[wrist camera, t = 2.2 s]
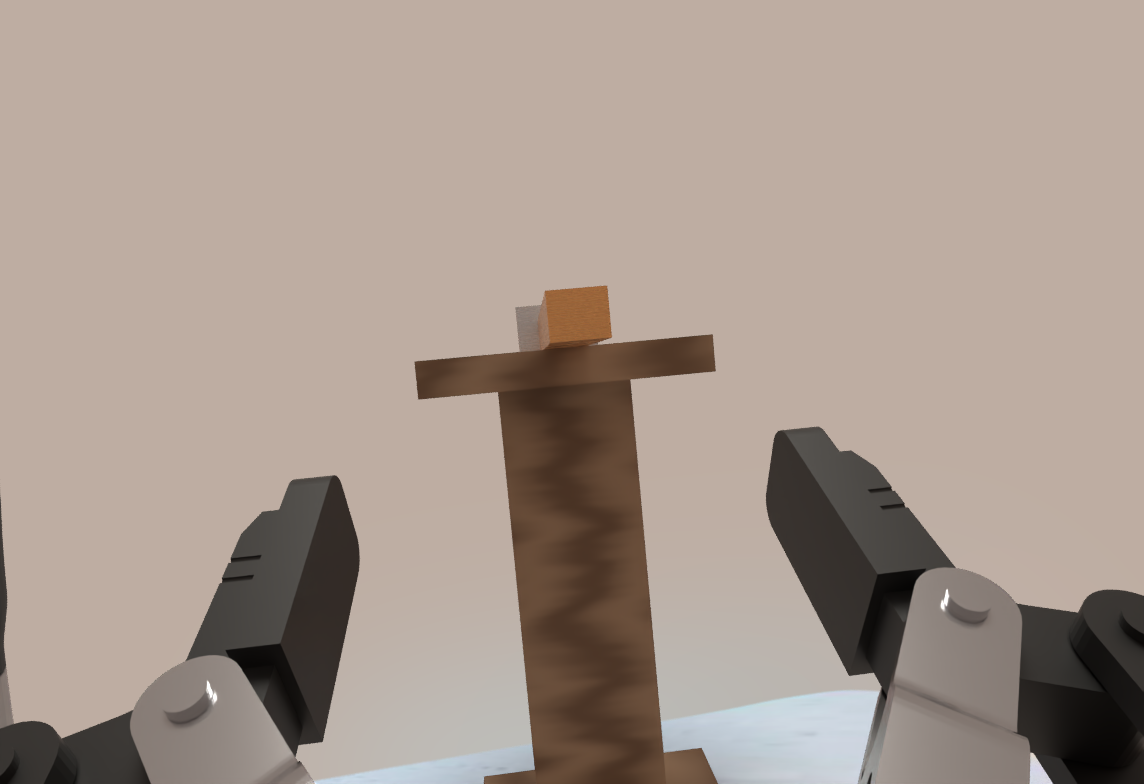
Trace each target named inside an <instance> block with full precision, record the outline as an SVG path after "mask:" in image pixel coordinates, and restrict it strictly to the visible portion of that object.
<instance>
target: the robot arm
mask: <svg viewBox="0 0 1144 784" xmlns="http://www.w3.org/2000/svg"><path fill="white" fill-rule="evenodd" d="M766 505H767V512H768V516H769V520H770V523H771V526H772V528H773V530H774V532H775V534H776V536H777V538H778V540H779V541H780V543H781V545H782V547H783V549H784V551H785V553H786V555H787V557H788V559H789V561H790V563H791V565H792V567H793V568H794V570H795V572H796V574H797V576H798V578H799V580H800V582H801V584H802V586H803V587H804V590H805V592H806V593H807V595H808V597H809V599H810V601H811V603H812V605H813V607H814V609H815V611H816V612H817V615H818V617H819V619H820V620H821V623H822V624H823V626H824V628H825V630H826V632H827V634H828V636H829V638H830V640H831V642H832V644H833V646H834V648H835V649H836V651H837V653H838V655H839V657H840V659H841V661H842V663H843V665H844V667H845V669H846V671H847V673H848V675H849V676H852V675H859V674H867V673H874V674H875V675H876V677H877V679H878V681H879V683H880V685H881V686H882V687H881V690H880V693H879V696H878V700H877V704H876V708H875V712H874V717H873V721H872V725H871V729H870V733H869V738H868V742H867V746H866V750H865V755H864V759H863V763H862V767H861V772H860V776H859V780H858V784H1029V782H1030V752H1031V753H1034V754H1035V756H1036V758H1037V759H1038V761H1039V762H1040V764H1041V765H1042V767H1043V769H1044V770H1045V772H1046V773H1047V775H1048V776H1049V778H1050V779H1051V781H1052V783H1053V784H1144V596H1142V595H1139V594H1136V593H1132V592H1128V591H1122V590H1102V591H1097V592H1094V593H1092V594H1091V595H1089V596H1088V597H1087V598H1086V599H1085V600H1084V602H1083V604H1082V606H1081V608H1080V610H1079V612H1078V613H1076V612H1069V611H1062V610H1056V609H1049V608H1042V607H1041V608H1040V607H1035V606H1028V605H1022V604H1017V603H1015V601H1014V600H1013V599H1012V598H1011V596H1010V595H1009V594H1008V593H1007V592H1006V591H1005V590H1003V589H1002V588H1001V587H1000V586H998V585H997V584H995V583H994V582H992V581H991V580H989V579H987V578H985V577H983V576H981V575H979V574H976V573H973V572H970V571H967V570H963V569H957V568H955V566H954V565H953V564H952V563H951V561H950V560H949V559H948V558H947V556H946V555H945V554H944V552H943V551H942V550H941V549H940V547H939V546H938V545H937V544H936V542H935V541H934V540H933V539H932V537H931V536H930V535H929V534H928V532H927V531H926V530H925V529H924V527H923V526H922V525H921V523H920V522H919V521H918V520H917V518H916V517H915V516H914V515H913V513H912V512H911V511H910V509H909V508H905V505H904V502H903V501H902V499H901V498H900V497H899V496H898V494H897V493H896V492H895V491H892V489H891V486H890V484H889V483H888V482H887V480H886V479H885V478H884V477H883V475H882V474H881V473H880V472H879V470H878V469H877V468H876V467H875V466H874V465H872V464H870V463H869V462H868V461H866V460H865V459H863V458H862V457H860V456H858V455H857V454H855V453H854V452H852V451H842V452H839V450H838V449H837V448H836V446H835V445H834V444H833V442H832V441H831V439H830V438H829V437H828V435H827V434H826V433H825V431H824V430H823V429H822V428H820V427H810V428H801V429H791V430H781V431H778V432H777V433H776V435H775V438H774V443H773V449H772V456H771V463H770V471H769V478H768V485H767V493H766ZM359 561H360V560H359V544H358V539H357V535H356V532H355V528H354V525H353V521H352V518H351V515H350V512H349V508H348V505H347V501H346V498H345V495H344V491H343V488H342V485H341V482H340V480H339V478H338V477H337V476H335V475H334V476H324V477H316V478H305V479H296V480H292V481H291V482H290V484H289V486H288V488H287V491H286V493H285V496H284V499H283V501H282V504H281V506H280V509H279V510H275V511H266V512H262V513H261V514H260V515H259V516H258V517H257V518H256V519H255V520H254V521H253V522H252V523H251V524H250V526H249V527H248V528H247V529H246V530H245V531H244V532H243V533H242V534H241V536H240V538H239V540H238V543H237V545H236V547H235V550H234V552H233V554H232V557H231V563H228V566H227V568H226V570H225V572H224V575H223V577H222V583H220V584H219V586H218V589H217V591H216V593H215V595H214V598H213V600H212V602H211V605H210V607H209V609H208V612H207V614H206V616H205V618H204V621H203V623H202V625H201V628H200V630H199V632H198V634H197V637H196V639H195V641H194V644H193V646H192V648H191V651H190V653H189V655H188V658H187V659H186V661H185V662H183V663H181V664H179V665H177V666H175V667H173V668H171V669H170V670H168V671H167V672H165V673H164V674H162V675H161V676H160V677H159V678H158V679H157V680H155V681H154V682H153V683H152V684H151V685H150V686H149V687H148V688H147V689H146V690H145V692H144V693H143V694H142V696H141V697H140V699H139V700H138V702H137V703H136V705H135V707H134V710H132V711H130V712H128V713H126V714H123V715H121V716H119V717H116V718H114V719H111V720H109V721H106V722H103V723H101V724H98V725H96V726H93V727H90V728H88V729H85V730H83V731H80V732H78V733H75V734H73V735H70V736H67V737H65V738H62V739H61V737H60V736H59V735H58V734H57V732H56V731H55V730H54V729H53V727H51V726H50V725H48V724H46V723H43V722H37V721H28V722H20V723H16V724H14V722H13V716H12V708H11V700H10V693H9V685H8V677H7V670H6V661H5V653H4V631H5V622H6V610H7V589H6V577H5V567H4V554H3V539H2V520H1V499H0V784H315V783H314V781H313V780H312V778H311V777H310V775H309V773H308V772H307V770H306V769H305V767H304V766H303V765H302V763H301V762H300V761H299V762H298V761H297V759H296V758H295V757H296V753H297V749H298V745H302V744H311V743H318V742H323V738H324V733H325V728H326V724H327V718H328V714H329V709H330V704H331V700H332V695H333V690H334V685H335V681H336V676H337V672H338V667H339V662H340V658H341V653H342V648H343V643H344V639H345V634H346V629H347V624H348V620H349V615H350V610H351V606H352V601H353V596H354V592H355V587H356V582H357V577H358V572H359Z"/></svg>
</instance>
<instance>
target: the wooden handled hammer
mask: <svg viewBox="0 0 1144 784" xmlns="http://www.w3.org/2000/svg"><path fill="white" fill-rule="evenodd" d="M516 317H517V328H518V338H519V348H520V352H526V351H537V350H548V349H559V348H570V347H581V346H592V345H598V342H600V341H603V340H606V339H609V338H611V337H612V335H611V323H610V312H609V301H608V290H607V286H597V287H585V288H573V289H562V290H551V291H545V294H544V297H543V301H542V305H539V306H526V307H516Z"/></svg>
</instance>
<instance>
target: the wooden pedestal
mask: <svg viewBox="0 0 1144 784" xmlns="http://www.w3.org/2000/svg"><path fill="white" fill-rule="evenodd" d="M415 370H416V380H417V390H418V399H428V398H439V397H450V396H460V395H471V394H481V393H490V392H491V393H492V392H498V396H499V406H500V417H501V426H502V437H503V446H504V458H505V467H506V478H507V488H508V498H509V509H510V519H511V529H512V539H513V549H514V560H515V570H516V580H517V591H518V600H519V611H520V621H521V632H522V641H523V652H524V663H525V672H526V683H527V693H528V703H529V713H530V724H531V733H532V745H533V755H534V765H535V770H531V771H523V772H515V773H508V774H500V775H493V776H485V777H484V784H718V783H717V781H716V778H715V776H714V774H713V772H712V770H711V768H710V765H709V763H708V761H707V759H706V757H705V755H704V752H703V750H702V748H697V749H690V750H682V751H675V752H667V753H663V742H662V731H661V719H660V708H659V698H658V687H657V675H656V664H655V652H654V641H653V630H652V620H651V619H652V618H651V607H650V597H649V585H648V573H647V563H646V552H645V540H644V530H643V518H642V506H641V496H640V484H639V473H638V463H637V450H636V439H635V427H634V416H633V405H632V394H631V383H630V379H638V378H650V377H660V376H670V375H681V374H692V373H702V372H712V371H716V370H715V358H714V346H713V335H701V336H690V337H679V338H669V339H657V340H646V341H636V342H624V343H613V344H603V345H592V346H581V347H570V348H559V349H548V350H537V351H526V352H516V353H504V354H494V355H483V356H471V357H460V358H450V359H438V360H427V361H417V362H415Z"/></svg>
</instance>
